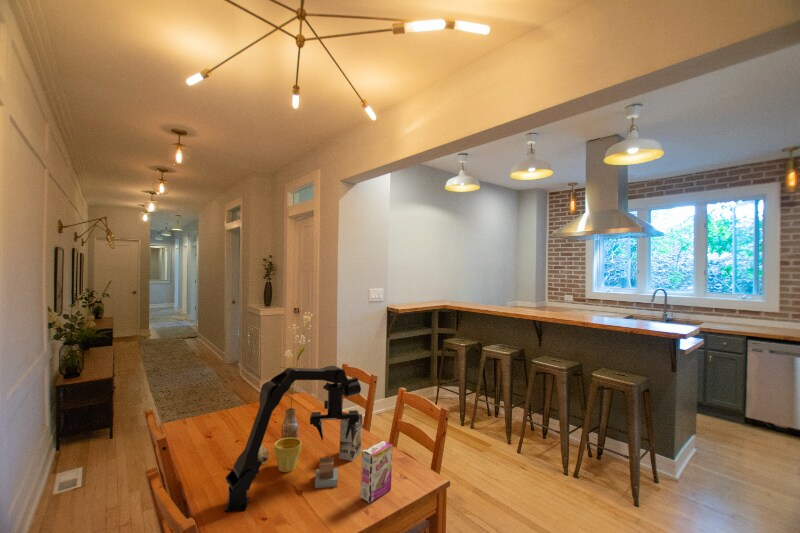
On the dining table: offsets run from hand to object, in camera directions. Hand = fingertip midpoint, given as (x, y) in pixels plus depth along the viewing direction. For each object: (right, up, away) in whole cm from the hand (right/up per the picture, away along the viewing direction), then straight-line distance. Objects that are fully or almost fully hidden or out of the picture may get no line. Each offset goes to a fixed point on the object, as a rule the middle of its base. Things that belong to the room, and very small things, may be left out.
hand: (334, 439), depth 145 cm
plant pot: (-19, -12, +1) cm, 22 cm away
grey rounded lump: (-33, -12, +6) cm, 36 cm away
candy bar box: (+18, -12, -15) cm, 26 cm away
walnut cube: (-1, -9, -8) cm, 12 cm away
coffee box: (+5, -13, +12) cm, 18 cm away
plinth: (-1, -12, -8) cm, 14 cm away
